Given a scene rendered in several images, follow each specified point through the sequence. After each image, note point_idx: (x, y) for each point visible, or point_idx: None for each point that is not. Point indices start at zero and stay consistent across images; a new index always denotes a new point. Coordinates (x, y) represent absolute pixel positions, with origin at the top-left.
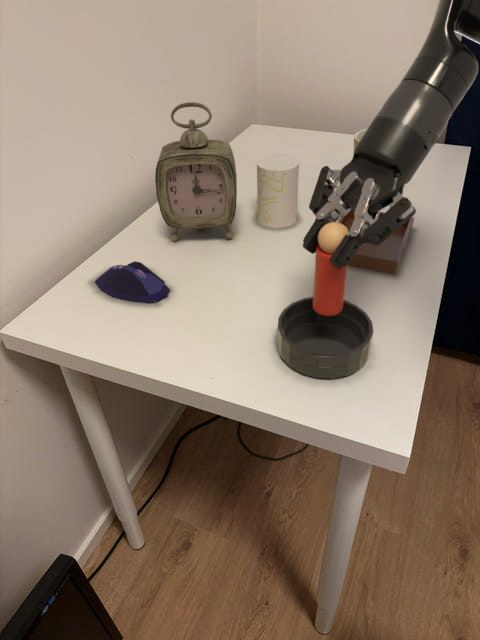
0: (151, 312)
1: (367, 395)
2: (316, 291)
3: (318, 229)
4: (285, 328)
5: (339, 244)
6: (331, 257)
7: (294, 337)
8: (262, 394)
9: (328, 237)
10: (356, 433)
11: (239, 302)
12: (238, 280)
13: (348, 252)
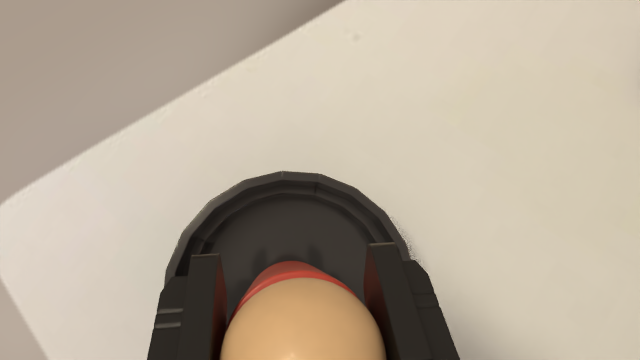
0: (617, 37)
1: (118, 270)
2: (299, 263)
3: (389, 327)
4: (368, 229)
5: (208, 320)
6: (212, 262)
7: (353, 251)
8: (257, 93)
9: (272, 297)
10: (62, 180)
11: (545, 226)
12: (629, 278)
13: (154, 330)
